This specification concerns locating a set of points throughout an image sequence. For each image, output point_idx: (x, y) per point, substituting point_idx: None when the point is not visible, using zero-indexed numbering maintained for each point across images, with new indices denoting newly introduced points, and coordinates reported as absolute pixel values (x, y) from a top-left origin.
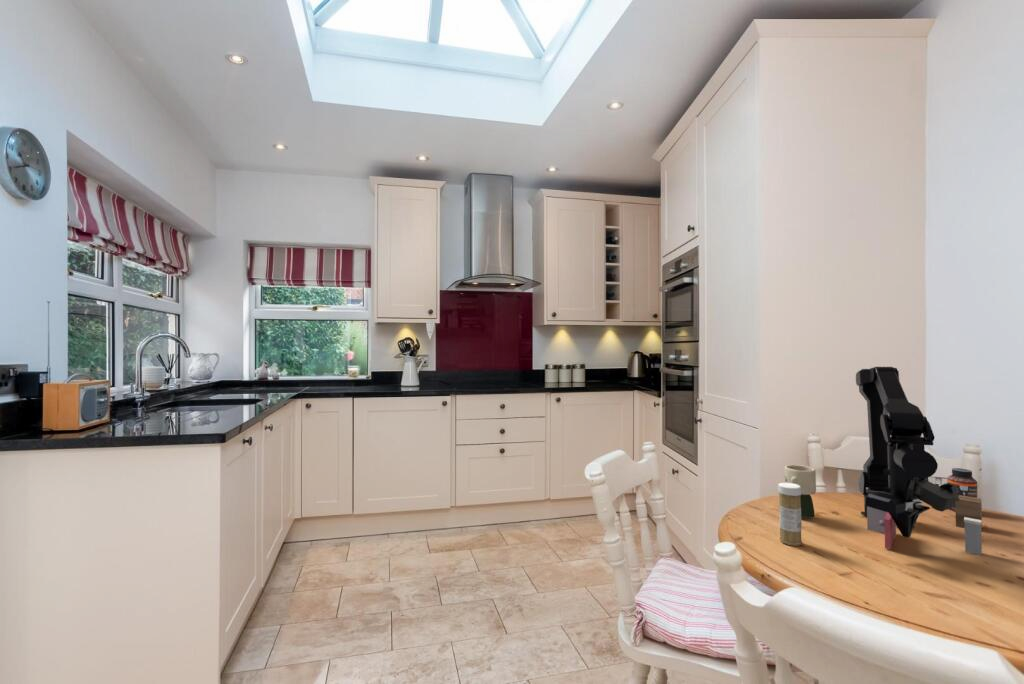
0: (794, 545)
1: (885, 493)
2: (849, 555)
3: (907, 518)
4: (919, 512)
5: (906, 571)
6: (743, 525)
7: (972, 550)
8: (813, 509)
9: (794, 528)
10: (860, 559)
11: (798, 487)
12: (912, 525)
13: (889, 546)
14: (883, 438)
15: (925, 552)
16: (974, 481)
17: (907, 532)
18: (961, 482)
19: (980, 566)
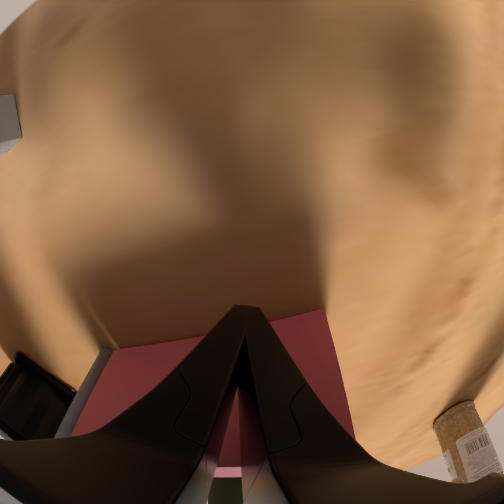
0: (472, 401)
1: (7, 437)
2: (470, 337)
3: (353, 442)
4: (174, 495)
5: (499, 181)
6: (403, 465)
7: (10, 118)
8: (226, 487)
9: (487, 433)
10: (484, 308)
11: None
12: (226, 361)
13: (326, 320)
14: None
15: (180, 210)
16: None
17: (273, 333)
18: None
19: (138, 8)
